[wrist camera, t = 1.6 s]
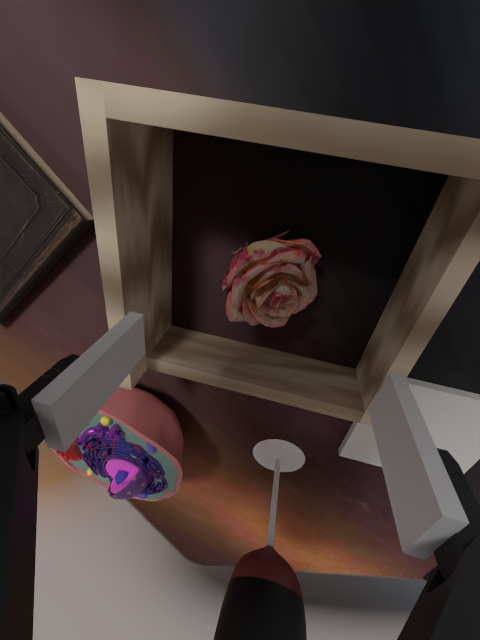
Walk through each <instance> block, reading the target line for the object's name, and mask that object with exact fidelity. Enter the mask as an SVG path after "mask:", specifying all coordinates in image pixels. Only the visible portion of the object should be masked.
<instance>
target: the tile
mask: <svg viewBox="0 0 480 640" xmlns="http://www.w3.org/2000/svg"><path fill="white" fill-rule="evenodd" d="M406 380H407V382H408V384H409V387H410V389H411V391H412V393H413V396H414V398H415V400H416V403H417V405H418V407H419V409H420V412H421V414H422V416H423V419H424V421H425V423H426V425H427V428H428V430H429V432H430V434H431V437H432V439H433V441H434V444H435V446H436V448H439V449H443V450H447V451H448V452H449V453H450V454H451V455H452V456H453V458H454V459H455V460H456V461H457V462H458V464H459V465H460V468H461V470H462V472H463V474H464V473H465V472H466V471H467V470H468V469H470V468H471V467H472V466H473V465H474V464H475V463H476V462H477V461H478V460H479V459H480V394H476V393H471V392H467V391H463V390H459V389H454V388H450V387H446V386H442V385H437V384H433V383H429V382H425V381H420V380H416V379H412V378H408V377H406ZM338 450H339V456H342V457H346V458H349V459H353V460H357V461H361V462H364V463H368V464H372V465H376V466H379V467H382V464H381V460H380V456H379V452H378V448H377V444H376V439H375V435H374V431H373V427H372V426H369V425H365V424H361V423H357V422H353V423H352V425H351V427H350V429H349V430H348V432H347V434H346V436H345V438H344V440H343V441H342V443H341V445H340V447H339V449H338Z"/></svg>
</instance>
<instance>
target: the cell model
mask: <svg viewBox="0 0 480 640" xmlns="http://www.w3.org/2000/svg"><path fill="white" fill-rule="evenodd" d="M183 448H184V437H183V433H182V430H181V427H180V423H179V420H178V418H177V415H176V413H175V412H174V410H173V409H172V408H170V407H169V406H168V405H166V404H165V403H164V402H163V401H161V400H160V399H158V398H157V397H156V396H154V395H153V394H151V393H149V392H147V391H144V390H141V389H138V388H135V387H134V388H133V389H132V390H128V389H125V388H121V387H118V388H117V389H116V391H115V392H114V393H113V394H112V395H111V397H110V398H109V399H108V400H107V402H106V403H105V404H104V405H103V407H102V408H101V409H100V410H99V411H98V413H97V414H96V415H95V416H94V418H93V419H92V420H91V421H90V423H89V424H88V425H87V426H86V428H85V429H84V430H83V431H82V432H81V434H80V435H79V436H78V437H77V439H76V440H75V441H74V442H73V444H72V445H71V446H70V447H69V448H68V450H67V451H66V452H61V451H58V450H55V449H52V450H53V451H54V453H55V454H56V455H57V456H58V457H59V458H60V459H61V460H62V461H63V463H64V464H65V465H66V466H67V467H69V468H70V469H71V470H73V471H74V472H75V473H77V474H79V475H82V476H84V477H86V478H88V479H90V480H92V481H94V482H96V483H98V484H100V485H102V486H104V487H106V488H108V493H109V495H110V496H111V497H112V498H114V499H130V498H134V499H139V500H145V501H160V500H164V499H166V498H169V497H171V496H173V495H175V494H176V493H178V492H179V490H180V482H181V480H182V477H183V465H182V459H183Z"/></svg>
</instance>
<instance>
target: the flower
mask: <svg viewBox="0 0 480 640" xmlns="http://www.w3.org/2000/svg"><path fill="white" fill-rule="evenodd" d="M290 231H291V230H290ZM287 232H289V231H287ZM287 232H284V233H282V234H280V235H277V236H275V237H272V238H269V239H267V240H263V241H257V242H254V243H252V244H250V245H249V246H248V244H247V242H246V245H245V247H242V248H239V249H238V250H237V251H235V252H233V250H232V253H234V254H235V253H236V254H235V255H236V256H235V257H234V258H233V260H232V261H231V264H230V268H229V273H226V272H225V273H224V274H225V277H224V279H223V284H222V290H223V291H224V290H227V295H226V299H227V300H226V314H227V317H228V319H229V321H230V322H231V321H232V322H239V321H245V322H248V323H249V324H250V325H251V326H255V325H257V324H259V323H261V324H263V325H265V326H268V327H271V328H274V327H281V326H283V325H285V324H286V323H287V321H288V319H289V317H290V315H291V314H296V313H297V312H299V311H300V310H304V309H305V308H306V307H307V305H308V304H310V303H311V302H312V301H313V300H314V299H315V297H316V295H317V279H316V270H315V269H314V265H315V264H316V263H317V262H318V260H319V259H320V258H321V256H322V255H320V253H321V252H320V253H319V251H318V249H317V248H316V247H315V245H314V244H313V243H312V242H311V241H310V240H308V239H295V240H286V241H285V240H281V239H280V237H281V236H282V235H283V234H285V233H287ZM237 252H238V253H237Z"/></svg>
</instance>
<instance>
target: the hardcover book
mask: <svg viewBox="0 0 480 640" xmlns="http://www.w3.org/2000/svg"><path fill="white" fill-rule="evenodd" d="M93 223H94V218H93V216H92V215H91V214H90V213H89V212H88V211H87V210H86V209H85V207H84V206H83V205H82V204H81V203H80V202H79V201H78V199H77V198H76V197H75V196H74V195H73V194H72V193H71V192H70V190H69V189H68V188H67V187H66V186H65V185H64V184H63V182H62V181H61V180H60V179H59V178H58V177H57V176H56V175H55V173H54V172H53V171H52V170H51V169H50V168H49V167H48V166H47V164H46V163H45V162H44V161H43V160H42V159H41V158H40V156H39V155H38V154H37V153H36V152H35V151H34V150H33V149H32V147H31V146H30V145H29V144H28V143H27V142H26V141H25V139H24V138H23V137H22V136H21V135H20V134H19V133H18V132H17V130H16V129H15V128H14V127H13V126H12V125H11V124H10V122H9V121H8V120H7V119H6V118H5V117H4V116H3V115H2V113H1V112H0V323H1V322H2V321H4V320H5V319H6V317H7V316H8V315H9V314H10V313H11V312H12V311H13V310H14V309H15V308H16V307H17V306H18V304H19V303H20V302H21V301H22V300H23V299H24V298H25V297H26V296H27V295H28V294H29V293H30V292H31V290H32V289H33V288H34V287H35V286H36V285H37V284H38V283H39V282H40V281H41V280H42V279H43V277H44V276H45V275H46V274H47V273H48V272H49V271H50V270H51V269H52V268H53V267H54V266H55V265H56V263H57V262H58V261H59V260H60V259H61V258H62V257H63V256H64V255H65V254H66V253H67V252H68V250H69V249H70V248H71V247H72V246H73V245H74V244H75V243H76V242H77V241H78V240H79V239H80V238H81V236H82V235H83V234H84V233H85V232H86V231H87V230H88V229H89V228H90V227H91V226H92V225H93Z"/></svg>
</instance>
